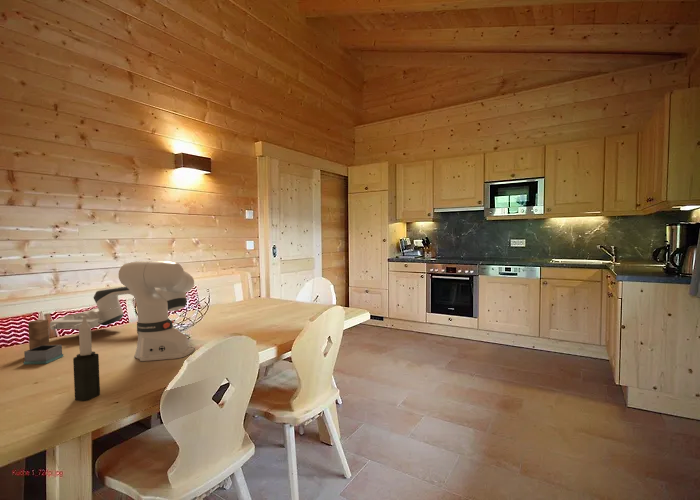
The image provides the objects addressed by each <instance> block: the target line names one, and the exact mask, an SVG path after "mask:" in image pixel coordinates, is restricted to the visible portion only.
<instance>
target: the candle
mask: <svg viewBox="0 0 700 500" xmlns="http://www.w3.org/2000/svg"><path fill="white" fill-rule="evenodd" d="M78 339H79V353H77V354H76V356H75V357H73V358H72V360H73V361H72V363H73V365H72V366H73V384H74V385H73V387H74V400H75V401H77V402H78V401H79V402H80V401H81V402H87V401H90V400H92V399H94V398H96V397H98V396H100V395H101V386H100V385H101V384H100V361H99V360H100V359H99V358H100V357H99V356H100V355H99V353H96V352H95V351H93V349H92V328H91V326H90V325H89V324H88V323H87V320H86V317H85V316H84V317H83V321H82V324H81V326H80V327H79V330H78Z"/></svg>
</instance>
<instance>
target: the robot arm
mask: <svg viewBox="0 0 700 500" xmlns="http://www.w3.org/2000/svg"><path fill="white" fill-rule="evenodd" d="M118 280H119V282H120V283H121V284H122V285H123V287H122V286H121V287H106V288H101V289H99V290H97V291H96V292H95V294H94V296H93V300H94V302H95V304H96V306H97V307H96V308H92V309H89V310H85V311H81V312H78V313H77V312H76V313H72V314H66V315H64V317H59V318H56V319H54V320H51V321H50V322H49V328H50V330H51V331H55V330H78V331H79V327H80V326H81V324H82V321H83V317H84V316H85V317H86V320H87V323H88V324H89V325H90V326H91V329H94V328H97V327H99V326H108V325H111V324H114V323H116V322H118V321H120V320H121V319H122V318H123V316H124V312H123V307H122V305H121V302H120V300H119V296H123V295H131V296H133V298H134V300H135V303H136V308H137V310H136V311H137V322H136V332H137V344H136V349H135V350H136V351H135V354H134V358H136V359H138V360H139V361H140V362H149V361H159V360H172V359H175V360H176V359H181V358H182V359H183V358H184V357H186V356H188V355H190V354H191V353H193V352H194V350H195V346H194V345H190V344H189V340H188V336H187V335H186V334H184V333H183V332H181V331H180V330H178V329H176V328H175V327H174V326H173V325H174V323H175V320H174V319H173V320H171V319H170V318H169V312H170V311H173V312H176V311H180V310H181V309H183V308H185V307H186V306H187V302H188V300H187V299H188V298H187V293H188V292H190V291H191V290H192V289H193V287H194V286H195V279H194V277H193V276H192V275H191V274H190V273H188V272H187V271H185V270H184V268H183V266H182V265H181V264H180V263H178V262H173V261H168V260H165V261H164V260H163V261H162V260H160V261H158V260H156V261H155V260H154V261H153V260H148V261H147V260H145V261H143V260H141V261H140V260H139V261H131V262H126V263H124V264H122V266H121V267H120V268H119V270H118Z"/></svg>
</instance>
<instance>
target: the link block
mask: <svg viewBox="0 0 700 500" xmlns="http://www.w3.org/2000/svg"><path fill="white" fill-rule="evenodd" d="M27 326H28V346H29V349H28V350H30V349H33V348H35V347H38V346H41V345H50V333H49V319H36V320H32V321H29V322H28V323H27Z"/></svg>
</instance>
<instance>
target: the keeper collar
mask: <svg viewBox="0 0 700 500" xmlns="http://www.w3.org/2000/svg"><path fill="white" fill-rule="evenodd" d="M23 354H24V355H23V357H24V361H23V365H47V364H50V363H52V362H54V361H56V360H59V359H60V358H63V357H64V354H63V344H49V345H41V346H38V347H35V348H33V349H28V350H25V351H24V352H23Z"/></svg>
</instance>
